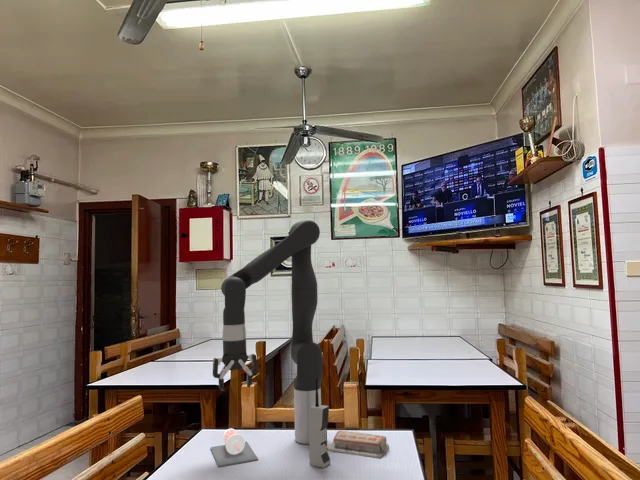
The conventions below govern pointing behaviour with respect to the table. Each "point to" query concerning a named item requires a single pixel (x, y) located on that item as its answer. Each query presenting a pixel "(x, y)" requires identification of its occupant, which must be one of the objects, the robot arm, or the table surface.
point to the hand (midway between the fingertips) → (235, 388)
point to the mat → (229, 459)
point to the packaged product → (359, 444)
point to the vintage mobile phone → (318, 433)
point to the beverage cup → (233, 441)
